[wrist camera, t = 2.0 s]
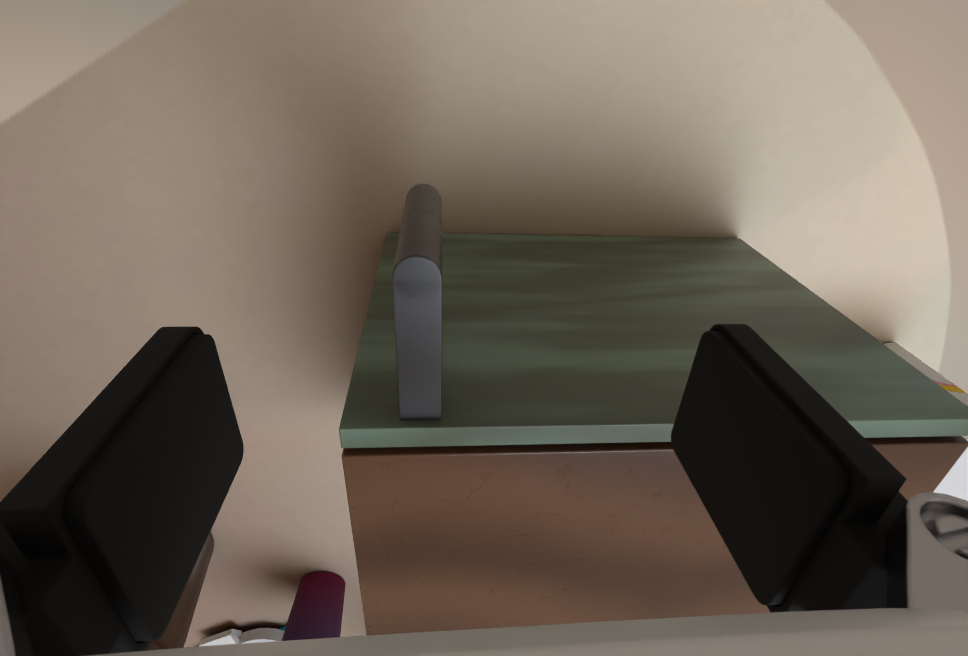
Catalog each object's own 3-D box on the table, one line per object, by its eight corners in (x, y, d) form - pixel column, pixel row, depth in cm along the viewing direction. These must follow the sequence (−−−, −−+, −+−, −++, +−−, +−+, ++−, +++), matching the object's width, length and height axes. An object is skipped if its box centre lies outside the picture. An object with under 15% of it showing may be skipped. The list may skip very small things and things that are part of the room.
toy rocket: (227, 675, 66) (221, 695, 64) (173, 643, 61) (165, 663, 59) (331, 640, 63) (328, 660, 61) (284, 603, 58) (278, 623, 56)
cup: (365, 585, 58) (345, 745, 45) (322, 607, 59) (291, 768, 47) (322, 558, 55) (287, 723, 42) (278, 583, 56) (231, 748, 44)
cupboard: (387, 247, 36) (341, 456, 19) (733, 252, 39) (972, 443, 21) (397, 415, 45) (370, 665, 27) (681, 410, 47) (821, 639, 30)
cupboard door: (381, 130, 32) (314, 259, 15) (771, 144, 34) (1098, 269, 17) (387, 245, 36) (341, 448, 19) (735, 250, 38) (972, 436, 21)
